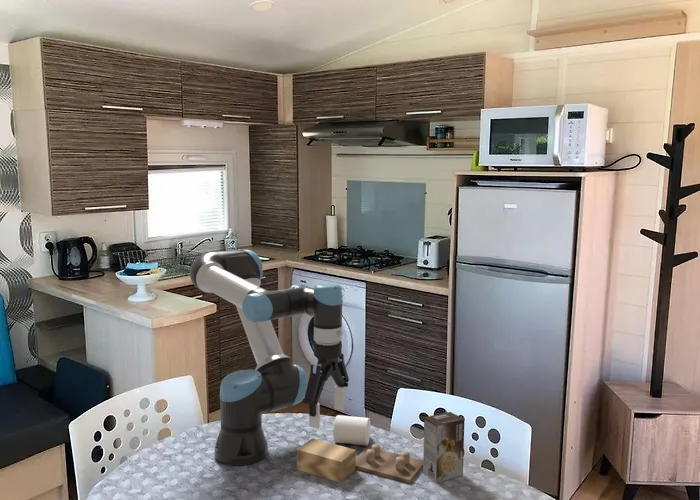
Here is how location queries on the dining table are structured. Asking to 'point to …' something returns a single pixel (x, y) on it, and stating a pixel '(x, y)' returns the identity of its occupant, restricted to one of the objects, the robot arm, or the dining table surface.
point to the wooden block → (326, 460)
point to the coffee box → (443, 446)
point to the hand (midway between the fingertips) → (327, 417)
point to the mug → (351, 430)
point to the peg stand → (389, 464)
